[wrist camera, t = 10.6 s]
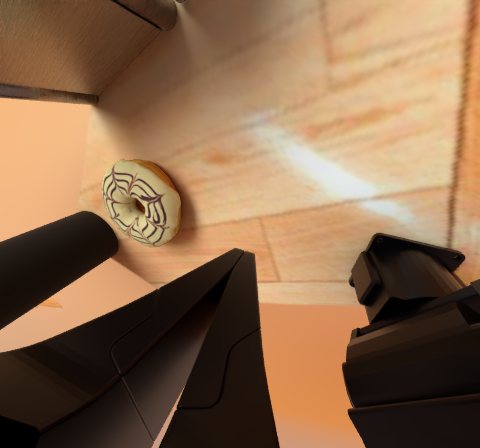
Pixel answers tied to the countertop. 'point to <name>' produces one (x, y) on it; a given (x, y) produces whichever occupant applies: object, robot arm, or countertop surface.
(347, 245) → the countertop surface
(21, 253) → the bottle
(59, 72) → the gate frame
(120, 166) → the decorated donut
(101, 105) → the countertop surface
